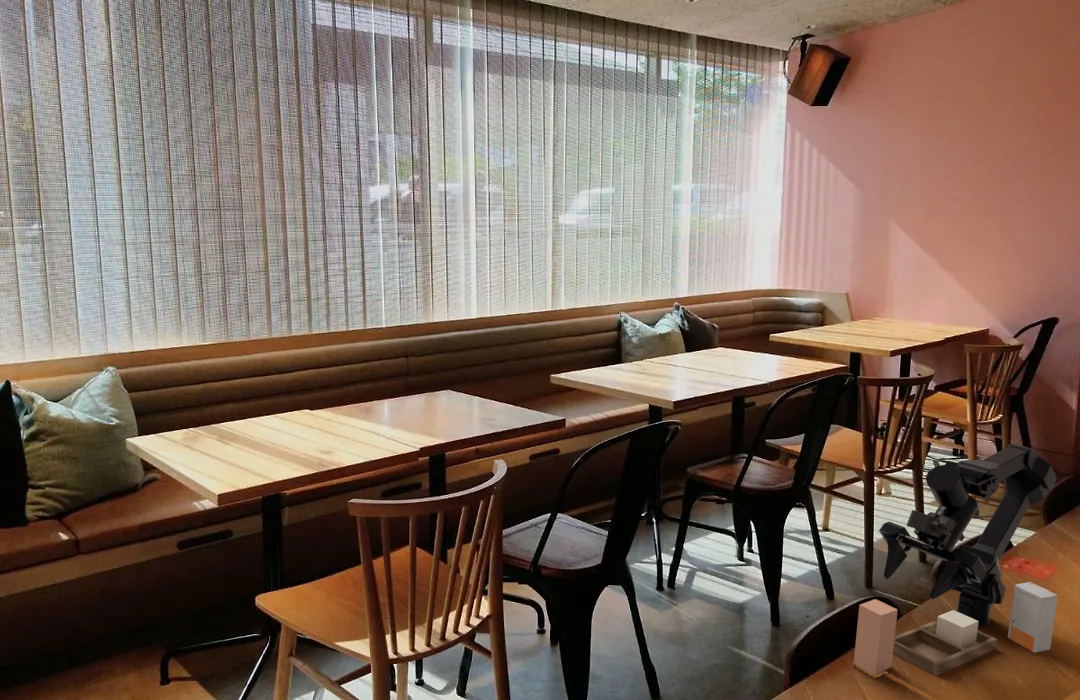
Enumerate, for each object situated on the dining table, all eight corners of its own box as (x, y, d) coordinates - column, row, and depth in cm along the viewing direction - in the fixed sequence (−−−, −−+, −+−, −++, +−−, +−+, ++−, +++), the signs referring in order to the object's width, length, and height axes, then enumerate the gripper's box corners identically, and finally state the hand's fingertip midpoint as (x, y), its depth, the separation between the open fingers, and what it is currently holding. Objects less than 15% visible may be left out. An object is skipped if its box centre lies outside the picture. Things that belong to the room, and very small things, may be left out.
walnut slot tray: (944, 630, 164) (946, 616, 164) (994, 653, 156) (996, 639, 155) (885, 654, 155) (887, 639, 154) (936, 680, 146) (937, 665, 146)
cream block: (950, 634, 161) (953, 609, 160) (975, 645, 157) (978, 621, 156) (934, 640, 158) (937, 616, 157) (959, 652, 154) (962, 627, 153)
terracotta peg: (869, 660, 153) (875, 599, 151) (890, 672, 149) (897, 609, 147) (853, 666, 150) (859, 604, 148) (874, 678, 146) (881, 615, 144)
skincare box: (1005, 642, 160) (1013, 583, 158) (1022, 638, 162) (1029, 581, 160) (1034, 658, 155) (1042, 598, 153) (1050, 654, 156) (1059, 594, 154)
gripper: (890, 480, 159) (847, 545, 155) (985, 511, 144) (939, 584, 140) (911, 513, 165) (869, 576, 161) (1004, 546, 149) (961, 618, 145)
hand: (907, 587), depth 151 cm, fingers open, 9 cm apart
